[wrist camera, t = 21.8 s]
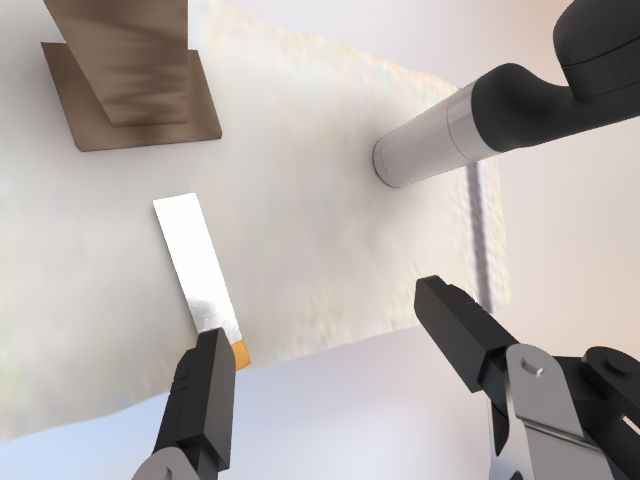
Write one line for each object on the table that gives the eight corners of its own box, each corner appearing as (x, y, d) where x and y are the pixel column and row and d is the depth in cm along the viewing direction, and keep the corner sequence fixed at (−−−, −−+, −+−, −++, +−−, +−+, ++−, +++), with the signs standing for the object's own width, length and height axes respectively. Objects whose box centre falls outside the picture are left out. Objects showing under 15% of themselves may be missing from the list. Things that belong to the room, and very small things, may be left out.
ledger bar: (194, 199, 31) (194, 192, 28) (244, 353, 33) (250, 363, 30) (156, 207, 30) (152, 201, 26) (211, 369, 31) (214, 381, 28)
